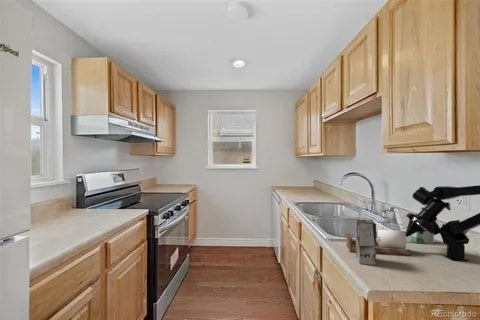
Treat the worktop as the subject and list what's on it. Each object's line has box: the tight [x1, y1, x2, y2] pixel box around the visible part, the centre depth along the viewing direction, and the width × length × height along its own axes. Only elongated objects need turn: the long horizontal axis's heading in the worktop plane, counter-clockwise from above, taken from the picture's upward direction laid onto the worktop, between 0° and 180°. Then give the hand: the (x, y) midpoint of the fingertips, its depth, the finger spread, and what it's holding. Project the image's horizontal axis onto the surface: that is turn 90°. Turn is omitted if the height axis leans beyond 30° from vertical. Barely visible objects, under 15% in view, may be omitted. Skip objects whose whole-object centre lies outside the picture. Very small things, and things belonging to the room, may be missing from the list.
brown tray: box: [346, 232, 411, 257], centre depth 139 cm, size 24×11×6 cm, turn 78°
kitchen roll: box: [376, 229, 407, 249], centre depth 138 cm, size 10×8×8 cm
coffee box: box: [355, 219, 377, 266], centre depth 125 cm, size 9×6×16 cm
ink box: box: [411, 229, 435, 245], centre depth 153 cm, size 9×5×12 cm, turn 88°
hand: (406, 236), depth 139 cm, fingers closed
